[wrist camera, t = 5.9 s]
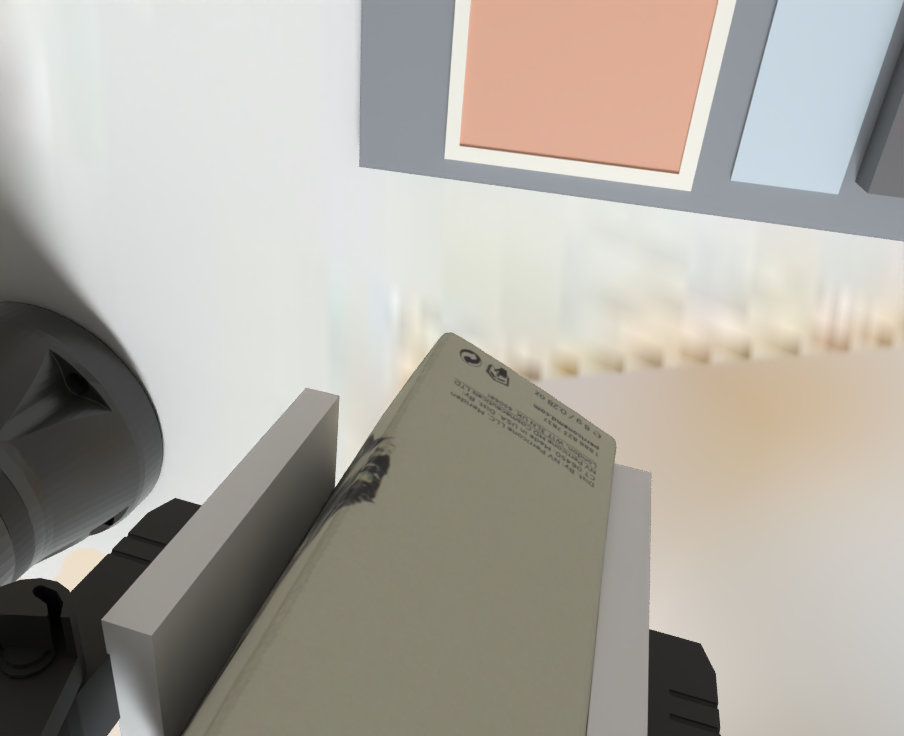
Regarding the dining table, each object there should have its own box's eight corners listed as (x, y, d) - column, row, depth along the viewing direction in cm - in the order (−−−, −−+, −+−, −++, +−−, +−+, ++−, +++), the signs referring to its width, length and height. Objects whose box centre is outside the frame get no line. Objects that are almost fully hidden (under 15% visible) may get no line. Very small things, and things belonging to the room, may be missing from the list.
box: (450, 317, 15) (-212, 1362, 3) (626, 438, 15) (534, 1766, 4) (338, 478, 17) (-230, 1350, 6) (489, 577, 17) (201, 1586, 6)
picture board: (365, 162, 32) (344, 175, 30) (371, -163, 27) (346, -177, 24) (1109, 264, 27) (1151, 288, 25) (1315, -111, 22) (1392, -122, 19)
